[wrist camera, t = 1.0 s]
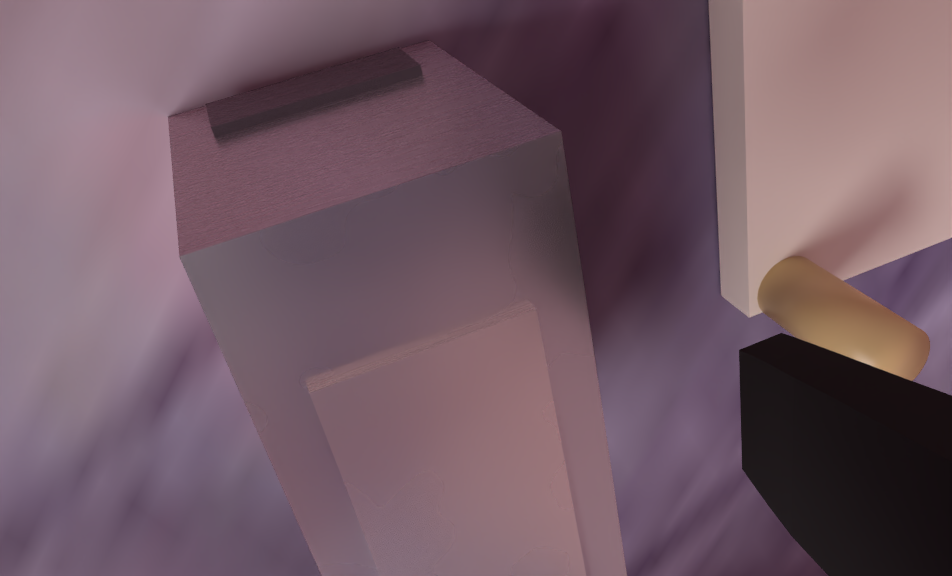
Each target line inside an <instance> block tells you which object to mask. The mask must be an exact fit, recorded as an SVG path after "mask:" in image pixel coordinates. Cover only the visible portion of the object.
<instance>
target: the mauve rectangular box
mask: <svg viewBox="0 0 952 576" xmlns="http://www.w3.org/2000/svg"><path fill="white" fill-rule="evenodd" d="M168 124H169V136H170V148H171V161H172V173H173V185H174V197H175V209H176V221H177V233H178V246H179V257H180V259H181V261H182V263H183V266H184V268H185V270H186V272H187V275H188V277H189V279H190V281H191V284H192V286H193V288H194V290H195V293H196V295H197V297H198V299H199V302H200V304H201V306H202V308H203V311H204V313H205V315H206V317H207V320H208V322H209V324H210V326H211V329H212V331H213V333H214V335H215V338H216V340H217V342H218V344H219V347H220V349H221V351H222V353H223V356H224V358H225V360H226V362H227V365H228V367H229V369H230V371H231V373H232V376H233V378H234V380H235V382H236V385H237V387H238V389H239V391H240V394H241V396H242V398H243V400H244V403H245V405H246V407H247V409H248V412H249V414H250V416H251V418H252V421H253V423H254V425H255V427H256V430H257V432H258V434H259V436H260V439H261V441H262V443H263V445H264V448H265V450H266V452H267V454H268V457H269V459H270V461H271V463H272V466H273V468H274V470H275V472H276V475H277V477H278V479H279V481H280V484H281V486H282V488H283V490H284V492H285V495H286V497H287V499H288V501H289V504H290V506H291V508H292V510H293V513H294V515H295V517H296V519H297V522H298V524H299V526H300V528H301V531H302V533H303V535H304V537H305V540H306V542H307V544H308V546H309V549H310V551H311V553H312V555H313V558H314V560H315V562H316V564H317V567H318V569H319V571H320V573H321V576H627V573H626V566H625V560H624V553H623V546H622V539H621V533H620V526H619V519H618V512H617V505H616V499H615V492H614V485H613V478H612V472H611V465H610V458H609V451H608V444H607V438H606V431H605V424H604V417H603V411H602V404H601V397H600V390H599V384H598V377H597V370H596V363H595V356H594V350H593V343H592V336H591V329H590V323H589V316H588V309H587V302H586V295H585V289H584V282H583V275H582V268H581V262H580V255H579V248H578V241H577V234H576V228H575V221H574V214H573V207H572V201H571V194H570V187H569V180H568V174H567V167H566V160H565V153H564V146H563V140H562V133H561V131H560V130H559V129H557V128H556V127H554V126H553V125H551V124H550V123H548V122H547V121H546V120H544V119H543V118H541V117H540V116H538V115H537V114H535V113H534V112H532V111H531V110H530V109H528V108H527V107H525V106H524V105H522V104H521V103H519V102H518V101H516V100H515V99H514V98H512V97H511V96H509V95H508V94H506V93H505V92H503V91H502V90H500V89H499V88H498V87H496V86H495V85H493V84H492V83H490V82H489V81H487V80H486V79H484V78H483V77H481V76H480V75H479V74H477V73H476V72H474V71H473V70H471V69H470V68H468V67H467V66H465V65H464V64H463V63H461V62H460V61H458V60H457V59H455V58H454V57H452V56H451V55H449V54H448V53H447V52H445V51H444V50H442V49H441V48H439V47H438V46H436V45H435V44H433V43H432V42H430V41H429V40H427V41H424V42H420V43H417V44H414V45H410V46H407V47H403V48H399V47H398V48H395V49H392V50H388V51H385V52H381V53H378V54H375V55H371V56H368V57H364V58H361V59H358V60H354V61H351V62H347V63H344V64H341V65H337V66H334V67H330V68H327V69H324V70H320V71H317V72H313V73H310V74H307V75H303V76H300V77H296V78H293V79H290V80H286V81H283V82H279V83H276V84H273V85H269V86H266V87H262V88H259V89H256V90H252V91H249V92H245V93H242V94H239V95H235V96H232V97H228V98H225V99H222V100H218V101H215V102H211V103H208V104H206V106H203V107H200V108H197V109H193V110H190V111H186V112H183V113H180V114H176V115H173V116H169V117H168Z"/></svg>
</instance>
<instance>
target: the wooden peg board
mask: <svg viewBox="0 0 952 576" xmlns="http://www.w3.org/2000/svg"><path fill="white" fill-rule="evenodd" d="M709 23H710V47H711V70H712V94H713V117H714V140H715V164H716V187H717V211H718V234H719V257H720V281H721V296H722V297H724V298H725V299H726V300H727V301H729V302H730V303H731V304H733V305H734V306H735V307H736V308H738V309H739V310H740V311H741V312H743V313H744V314H745V315H747V316H748V317H749V318H750V317H752V316H755V315H757V314H760V313H762V312H763V313H764V314H766V315H767V316H768V317H770V318H771V319H772V320H774V321H775V322H776V323H778V324H779V325H780V326H782V327H783V328H784V329H785V330H787V331H788V332H789V333H791V334H792V335H793V336H795V337H796V338H798V339H801V340H803V341H806V342H809V343H812V344H815V345H817V346H820V347H823V348H826V349H828V350H831V351H834V352H836V353H839V354H842V355H844V356H847V357H849V358H852V359H855V360H857V361H860V362H863V363H865V364H868V365H871V366H873V367H876V368H878V369H881V370H884V371H886V372H889V373H892V374H894V375H897V376H900V377H902V378H905V379H908V380H910V381H913V380H914V379H915V378H916V376H917V375H918V374H919V373H920V371H921V370H922V368H923V367H924V365H925V363H926V361H927V358H928V355H929V351H930V341H929V338H928V336H927V334H926V333H925V332H924V331H923V330H921V329H919V328H918V327H916V326H915V325H913V324H911V323H910V322H908V321H907V320H905V319H903V318H902V317H900V316H899V315H897V314H895V313H894V312H892V311H891V310H889V309H887V308H886V307H884V306H883V305H881V304H879V303H878V302H876V301H874V300H873V299H871V298H870V297H868V296H866V295H865V294H863V293H862V292H860V291H858V290H857V289H855V288H854V287H852V286H850V285H849V284H847V283H846V282H844V281H843V280H846V279H848V278H851V277H853V276H856V275H858V274H861V273H863V272H866V271H868V270H871V269H873V268H876V267H879V266H881V265H884V264H886V263H889V262H891V261H894V260H896V259H899V258H901V257H904V256H906V255H909V254H911V253H914V252H916V251H919V250H922V249H924V248H927V247H929V246H932V245H934V244H937V243H939V242H942V241H944V240H947V239H949V238H952V0H709Z"/></svg>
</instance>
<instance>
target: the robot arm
mask: <svg viewBox="0 0 952 576" xmlns="http://www.w3.org/2000/svg"><path fill="white" fill-rule="evenodd" d="M739 361H740V399H741V437H742V469H743V471H744V472H745V473H746V475H747V476H748V478H749V479H750V480H751V482H752V483H753V485H754V486H755V487H756V489H757V490H758V492H759V493H760V494H761V496H762V497H763V499H764V500H765V501H766V503H767V504H768V506H769V507H770V508H771V509H772V511H773V512H774V513H775V515H776V516H777V517H778V519H779V520H780V521H781V523H782V524H783V525H784V527H785V528H786V529H787V530H788V532H789V533H790V534H791V536H792V537H793V538H794V539H795V540H796V541H797V542H798V543H799V544H800V545H801V547H802V548H803V549H804V550H805V551H806V552H807V553H808V554H809V555H810V556H811V557H812V558H813V559H814V561H815V562H816V563H817V564H818V565H819V566H820V567H821V568H822V569H823V570H824V571H825V572H826V573H827V574H828V575H829V576H952V396H951V395H948V394H946V393H943V392H940V391H937V390H935V389H932V388H929V387H926V386H924V385H921V384H918V383H916V382H913V381H910V380H908V379H905V378H902V377H900V376H897V375H894V374H892V373H889V372H886V371H884V370H881V369H878V368H876V367H873V366H871V365H868V364H865V363H863V362H860V361H857V360H855V359H852V358H849V357H847V356H844V355H842V354H839V353H836V352H834V351H831V350H828V349H826V348H823V347H820V346H817V345H815V344H812V343H809V342H806V341H803V340H801V339H798V338H795V337H792V336H789V335H786V334H783V333H780V334H778V335H775V336H773V337H770V338H768V339H765V340H763V341H760V342H758V343H756V344H753V345H751V346H748V347H746V348H743V349H741V350H739Z"/></svg>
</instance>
